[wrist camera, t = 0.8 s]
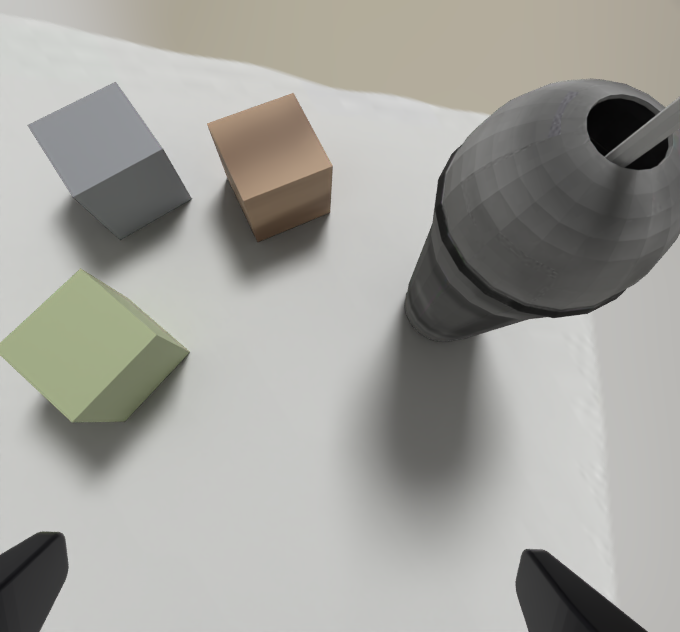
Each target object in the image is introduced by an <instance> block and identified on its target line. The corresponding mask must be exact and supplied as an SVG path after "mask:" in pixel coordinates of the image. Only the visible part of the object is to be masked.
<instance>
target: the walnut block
mask: <svg viewBox="0 0 680 632" xmlns="http://www.w3.org/2000/svg"><path fill="white" fill-rule="evenodd" d="M207 125H208V128H209V130H210V133H211V136H212V138H213V141H214V144H215V146H216V149H217V152H218V154H219V157H220V159H221V162H222V165H223V167H224V170H225V173H226V175H227V178H228V180H229V182H230V184H231V186H232V189H233V191H234V193H235V195H236V197H237V199H238V201H239V204H240V206H241V208H242V210H243V212H244V214H245V216H246V219H247V221H248V223H249V225H250V227H251V229H252V231H253V234H254V236H255V238H256V240H257V242H260V241H262V240H265V239H267V238H269V237H272V236H274V235H277V234H279V233H282V232H284V231H287V230H289V229H291V228H294V227H296V226H299V225H301V224H304V223H306V222H308V221H311V220H313V219H316V218H318V217H321V216H323V215H325V214H328V213H330V205H331V187H332V169H333V166H332V164H331V162H330V160H329V158H328V156H327V155H326V153H325V151H324V149H323V147H322V145H321V143H320V142H319V140H318V138H317V136H316V134H315V132H314V130H313V128H312V127H311V125H310V123H309V121H308V119H307V117H306V115H305V114H304V112H303V110H302V108H301V106H300V104H299V102H298V101H297V99H296V97H295V95H294V93H292V94H289V95H286V96H283V97H281V98H278V99H275V100H272V101H269V102H267V103H264V104H261V105H258V106H255V107H252V108H250V109H247V110H244V111H241V112H238V113H236V114H233V115H230V116H227V117H224V118H221V119H219V120H216V121H213V122H210V123H207Z"/></svg>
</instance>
